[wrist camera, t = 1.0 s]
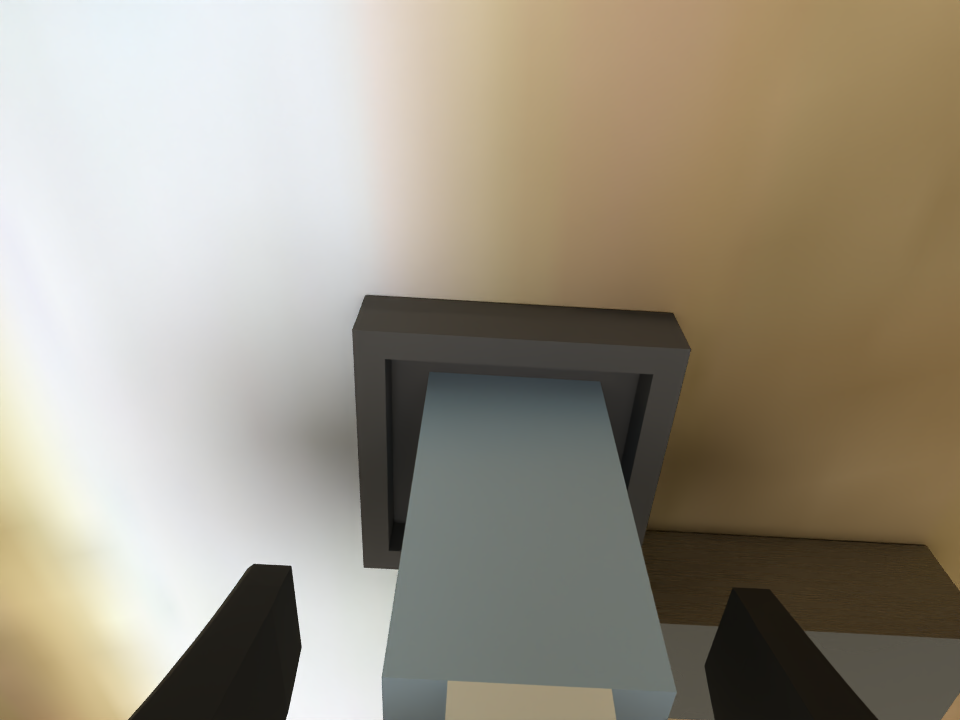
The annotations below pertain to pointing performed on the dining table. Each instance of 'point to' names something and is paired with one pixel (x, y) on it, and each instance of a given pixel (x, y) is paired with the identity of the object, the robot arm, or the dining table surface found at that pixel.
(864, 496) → the dining table surface
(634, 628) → the plug
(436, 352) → the square shadow box
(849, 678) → the port block
